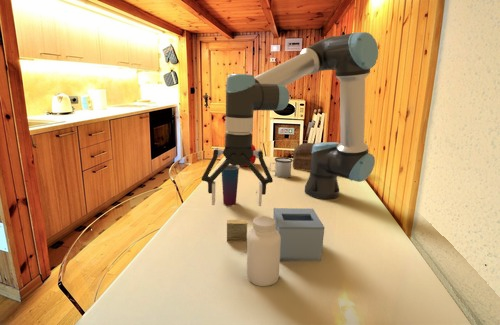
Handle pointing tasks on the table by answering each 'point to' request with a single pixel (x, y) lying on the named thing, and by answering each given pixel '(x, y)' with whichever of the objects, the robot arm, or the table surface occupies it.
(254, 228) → the pill bottle
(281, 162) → the mug
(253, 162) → the tomato
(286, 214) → the grey hollow box
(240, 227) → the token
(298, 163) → the bread
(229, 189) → the cup
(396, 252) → the table surface
